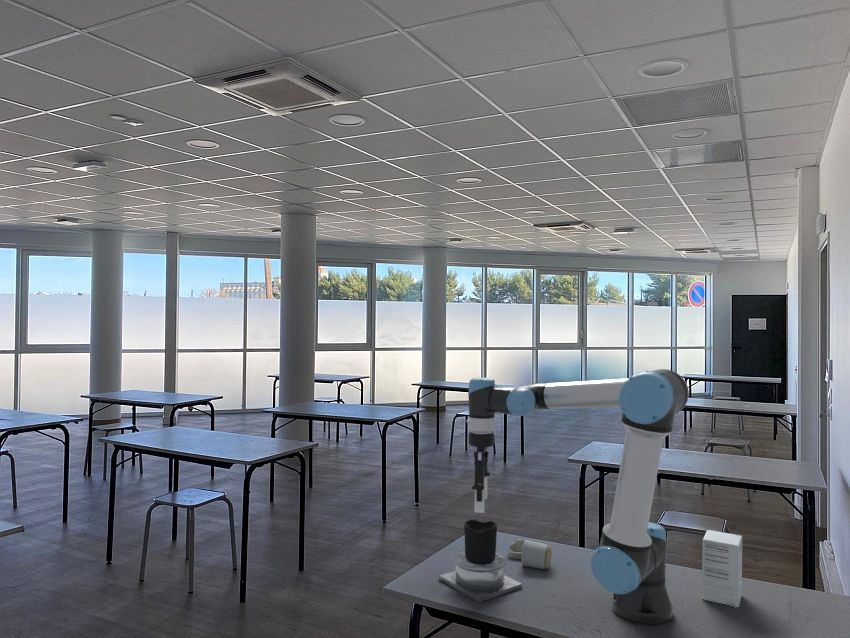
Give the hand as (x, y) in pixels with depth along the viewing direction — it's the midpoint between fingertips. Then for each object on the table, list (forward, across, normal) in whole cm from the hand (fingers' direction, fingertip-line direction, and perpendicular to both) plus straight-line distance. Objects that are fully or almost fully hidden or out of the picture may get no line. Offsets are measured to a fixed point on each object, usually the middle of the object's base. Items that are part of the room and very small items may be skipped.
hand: (481, 505), depth 180 cm
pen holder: (+16, 0, 0) cm, 16 cm away
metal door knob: (+23, 0, 0) cm, 23 cm away
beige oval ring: (+23, -24, +12) cm, 35 cm away
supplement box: (+23, -3, +66) cm, 70 cm away
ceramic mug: (+23, -17, +16) cm, 33 cm away
